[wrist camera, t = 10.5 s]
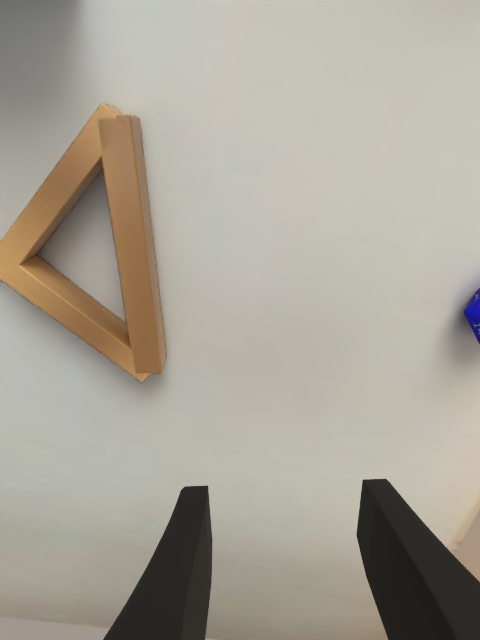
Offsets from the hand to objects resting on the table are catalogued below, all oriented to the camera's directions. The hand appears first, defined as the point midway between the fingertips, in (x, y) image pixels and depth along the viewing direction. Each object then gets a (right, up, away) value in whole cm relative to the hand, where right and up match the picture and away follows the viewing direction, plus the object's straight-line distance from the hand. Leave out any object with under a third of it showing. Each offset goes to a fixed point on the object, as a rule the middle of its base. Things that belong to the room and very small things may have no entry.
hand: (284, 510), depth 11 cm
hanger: (-9, +8, +6) cm, 13 cm away
